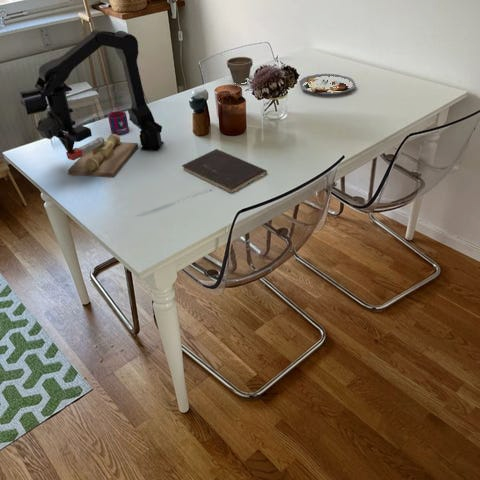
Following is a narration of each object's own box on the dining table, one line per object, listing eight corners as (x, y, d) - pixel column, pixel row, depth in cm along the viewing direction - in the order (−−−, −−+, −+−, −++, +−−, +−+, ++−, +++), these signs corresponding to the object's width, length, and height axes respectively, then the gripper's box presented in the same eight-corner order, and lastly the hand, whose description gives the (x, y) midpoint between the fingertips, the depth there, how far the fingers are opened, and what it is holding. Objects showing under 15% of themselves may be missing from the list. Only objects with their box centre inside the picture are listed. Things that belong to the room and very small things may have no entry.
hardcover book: (231, 195, 156) (230, 189, 154) (182, 171, 169) (181, 165, 168) (267, 175, 164) (266, 169, 163) (218, 154, 178) (217, 148, 177)
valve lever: (101, 141, 175) (100, 135, 174) (106, 143, 173) (105, 137, 172) (67, 158, 166) (66, 152, 165) (73, 160, 164) (71, 154, 163)
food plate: (359, 97, 212) (359, 88, 210) (302, 99, 213) (302, 91, 211) (349, 77, 233) (349, 70, 231) (297, 80, 234) (297, 72, 232)
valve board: (138, 146, 184) (135, 130, 180) (113, 177, 167) (110, 160, 163) (97, 144, 187) (93, 128, 183) (68, 174, 170) (64, 157, 166)
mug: (114, 136, 192) (111, 119, 188) (106, 127, 199) (102, 110, 195) (131, 132, 194) (128, 115, 190) (122, 123, 201) (119, 106, 197)
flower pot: (226, 79, 236) (225, 57, 230) (251, 77, 237) (250, 55, 231) (229, 88, 227) (228, 65, 221) (254, 86, 228) (254, 63, 222)
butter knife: (219, 189, 158) (214, 184, 160) (138, 219, 147) (134, 214, 149) (219, 190, 158) (214, 186, 160) (138, 221, 147) (134, 216, 149)
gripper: (17, 109, 157) (31, 155, 166) (58, 122, 148) (70, 170, 157) (47, 97, 164) (58, 142, 173) (87, 109, 155) (97, 156, 165)
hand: (70, 152), depth 167 cm, fingers closed
